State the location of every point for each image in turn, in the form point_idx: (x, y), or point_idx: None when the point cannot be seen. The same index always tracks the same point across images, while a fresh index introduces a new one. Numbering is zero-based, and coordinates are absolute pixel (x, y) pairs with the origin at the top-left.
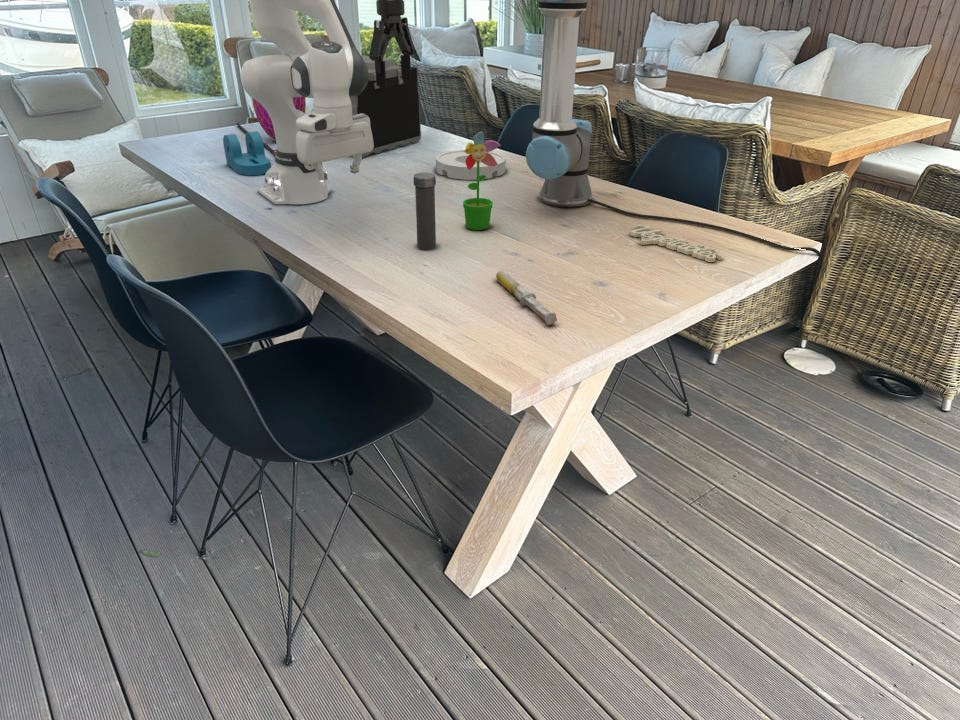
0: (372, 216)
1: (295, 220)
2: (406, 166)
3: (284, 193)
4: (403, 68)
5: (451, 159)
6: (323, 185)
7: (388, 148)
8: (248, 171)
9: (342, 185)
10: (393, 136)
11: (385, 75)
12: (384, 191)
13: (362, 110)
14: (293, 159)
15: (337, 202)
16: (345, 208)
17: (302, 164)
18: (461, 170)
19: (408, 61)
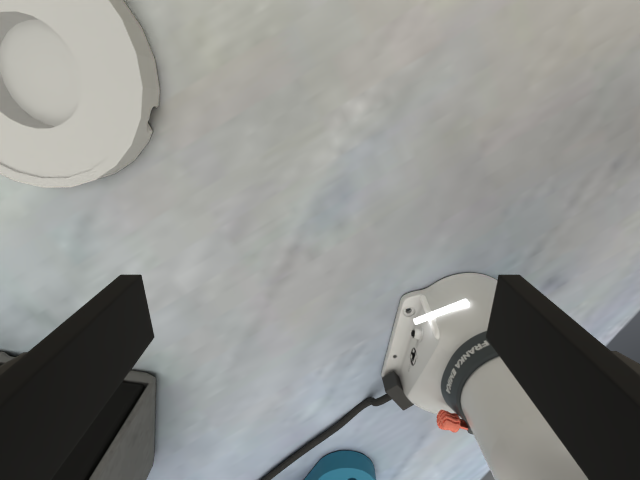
0: (539, 113)
1: (602, 248)
2: (138, 257)
3: None
4: (103, 379)
5: (73, 132)
6: (457, 295)
7: None
8: (374, 471)
9: (351, 299)
10: None
11: (552, 320)
12: (350, 194)
13: (68, 473)
14: None
15: (466, 241)
16: (500, 203)
17: None
18: (140, 49)
19: (35, 382)
